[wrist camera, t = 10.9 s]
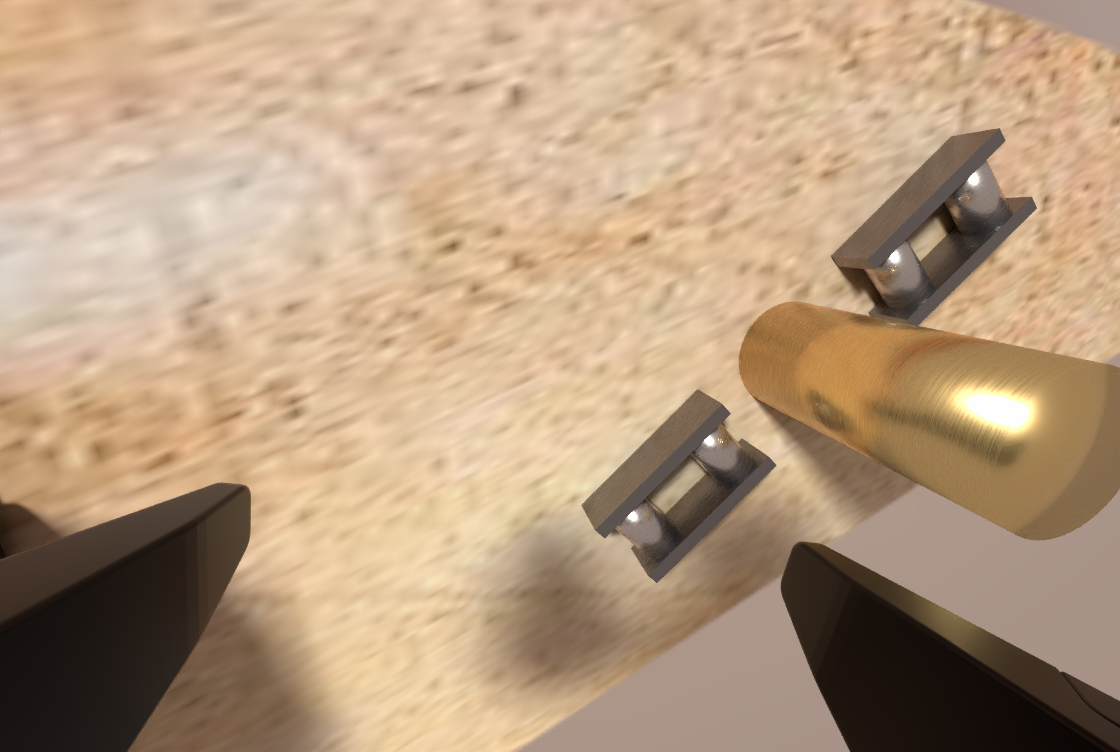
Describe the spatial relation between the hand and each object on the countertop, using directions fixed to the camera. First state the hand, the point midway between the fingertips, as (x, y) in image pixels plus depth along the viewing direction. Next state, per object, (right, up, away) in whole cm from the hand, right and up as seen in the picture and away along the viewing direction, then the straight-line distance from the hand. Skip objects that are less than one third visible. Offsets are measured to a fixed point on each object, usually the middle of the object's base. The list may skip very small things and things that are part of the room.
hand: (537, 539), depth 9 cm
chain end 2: (+16, +9, +14) cm, 23 cm away
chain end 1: (+5, -2, +15) cm, 16 cm away
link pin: (+10, +4, +15) cm, 18 cm away
